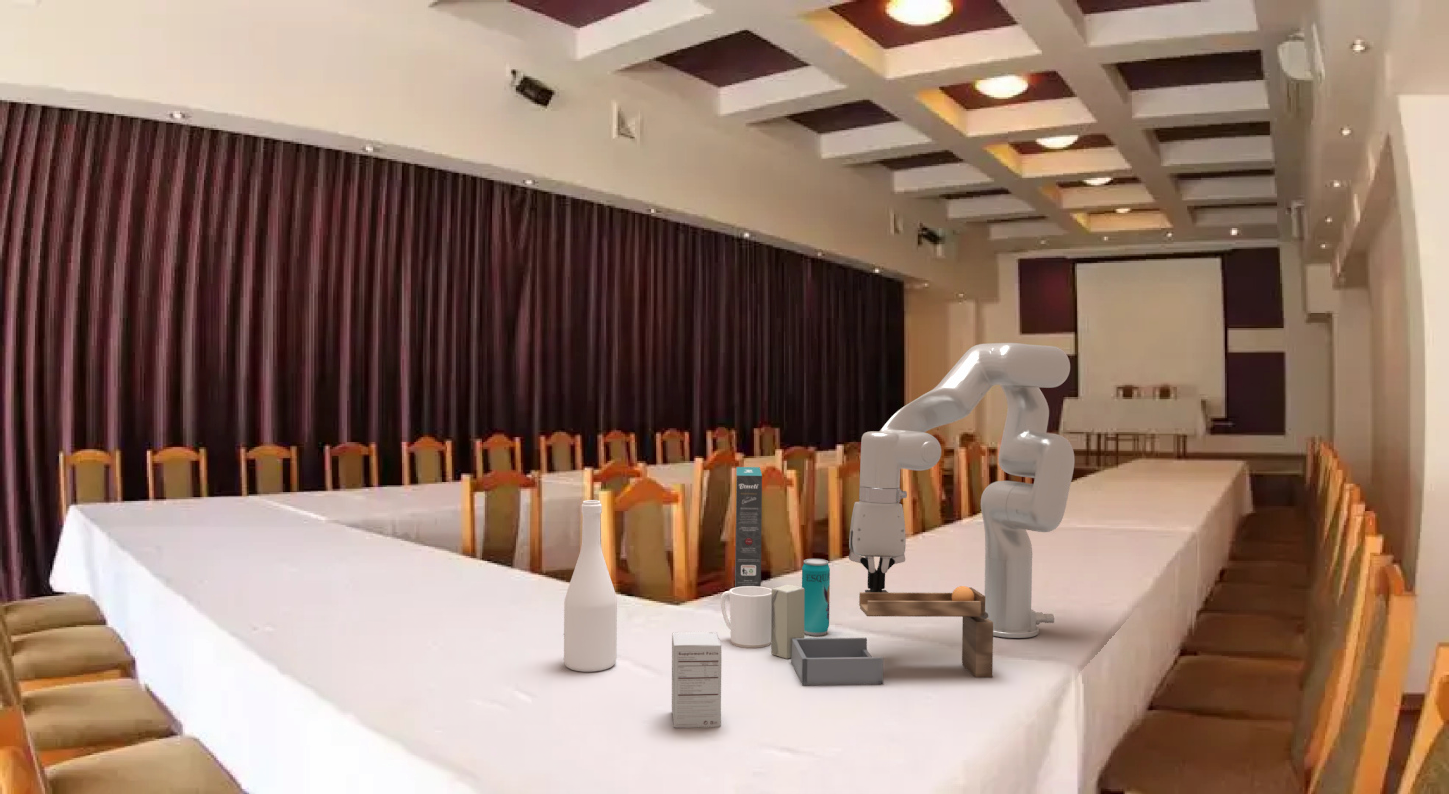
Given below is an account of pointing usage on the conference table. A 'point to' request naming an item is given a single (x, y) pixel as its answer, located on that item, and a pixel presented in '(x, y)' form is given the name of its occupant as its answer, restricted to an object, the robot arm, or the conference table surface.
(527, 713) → the conference table surface
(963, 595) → the ball
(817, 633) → the beverage can
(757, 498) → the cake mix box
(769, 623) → the mug
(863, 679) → the tray
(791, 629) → the box
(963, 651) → the post
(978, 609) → the lever
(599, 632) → the wine bottle
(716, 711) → the supplement box
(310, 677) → the conference table surface
